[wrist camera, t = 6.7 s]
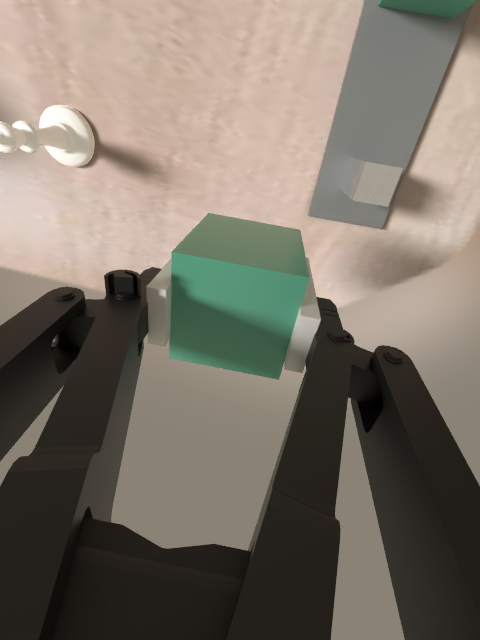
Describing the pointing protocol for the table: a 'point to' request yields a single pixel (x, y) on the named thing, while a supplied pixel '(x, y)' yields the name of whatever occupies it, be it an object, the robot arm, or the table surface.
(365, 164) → the post
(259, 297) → the green block
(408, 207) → the table surface
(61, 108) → the chess piece
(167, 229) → the table surface
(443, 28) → the stand
